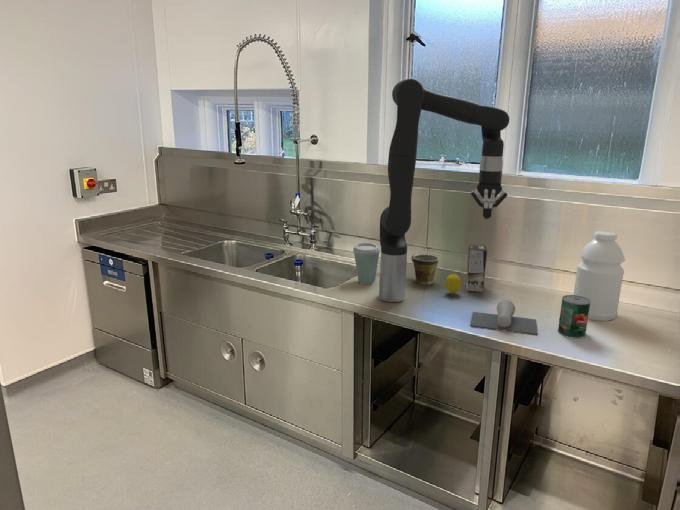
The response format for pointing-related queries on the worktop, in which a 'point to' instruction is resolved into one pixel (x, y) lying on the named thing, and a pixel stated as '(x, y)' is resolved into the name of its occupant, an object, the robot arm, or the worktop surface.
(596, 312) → the bottle
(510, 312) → the salt shaker
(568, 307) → the canned tomato
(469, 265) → the coffee box
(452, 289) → the lemon
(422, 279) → the ceramic cup
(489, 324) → the mat
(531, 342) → the worktop surface
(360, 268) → the disposable coffee cup
